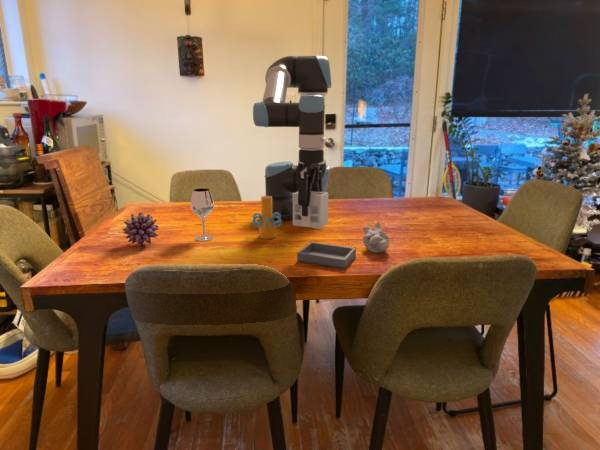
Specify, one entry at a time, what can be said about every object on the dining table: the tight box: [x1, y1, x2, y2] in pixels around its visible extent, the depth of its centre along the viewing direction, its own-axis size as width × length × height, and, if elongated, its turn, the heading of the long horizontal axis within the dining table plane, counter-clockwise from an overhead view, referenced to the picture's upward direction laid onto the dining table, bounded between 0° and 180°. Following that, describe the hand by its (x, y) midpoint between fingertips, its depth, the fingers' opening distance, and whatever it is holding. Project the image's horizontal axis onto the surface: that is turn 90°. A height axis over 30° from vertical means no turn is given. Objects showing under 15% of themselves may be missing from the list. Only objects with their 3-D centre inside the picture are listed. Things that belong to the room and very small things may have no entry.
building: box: [292, 191, 329, 229], centre depth 134 cm, size 9×6×10 cm
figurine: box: [362, 221, 390, 254], centre depth 143 cm, size 8×10×12 cm
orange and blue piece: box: [251, 195, 282, 240], centre depth 157 cm, size 12×10×15 cm
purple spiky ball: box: [122, 211, 160, 247], centre depth 147 cm, size 12×12×12 cm
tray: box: [296, 241, 357, 270], centre depth 136 cm, size 16×12×3 cm
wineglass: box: [190, 187, 215, 242], centre depth 154 cm, size 8×8×18 cm
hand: (310, 223), depth 135 cm, fingers closed on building, 6 cm apart
